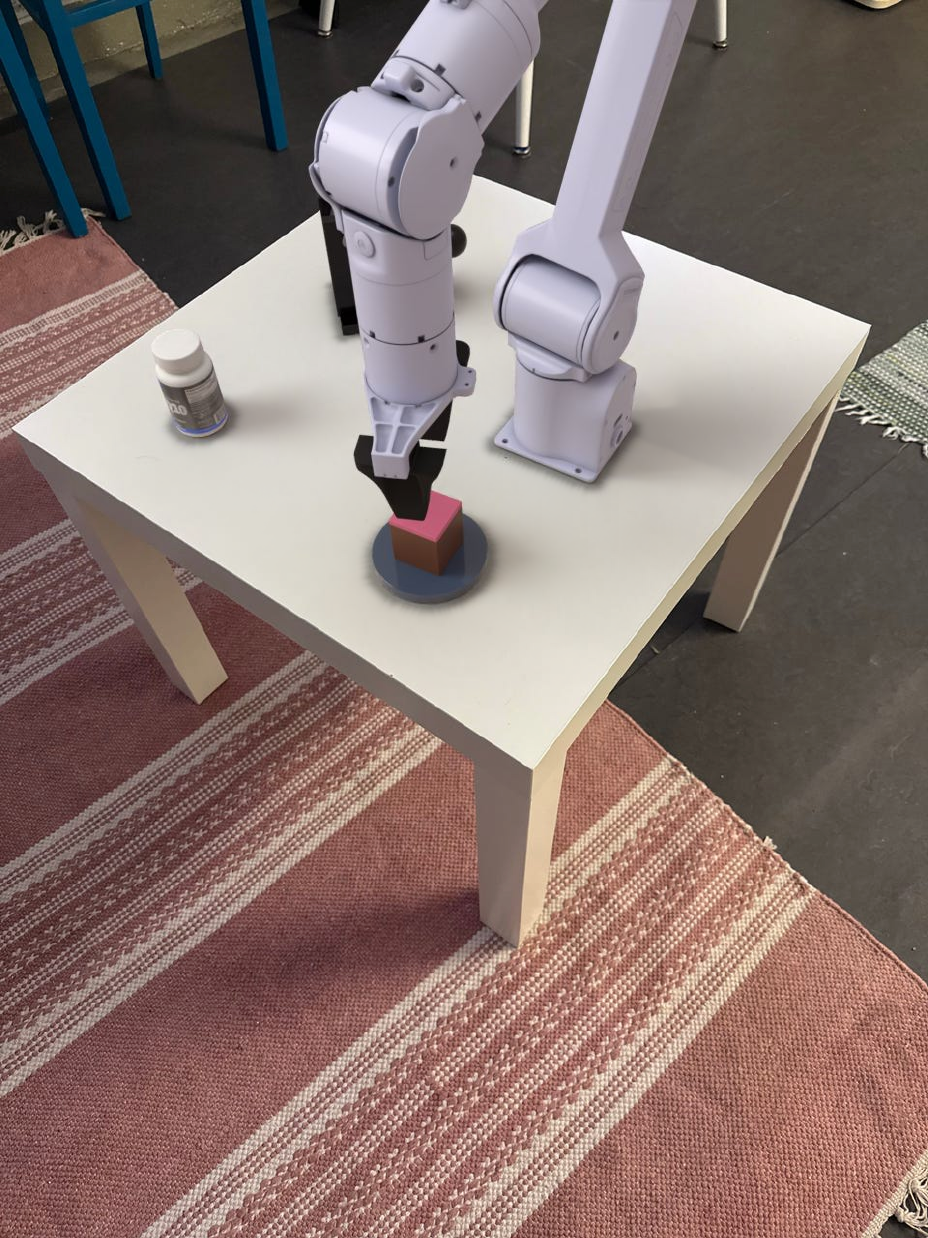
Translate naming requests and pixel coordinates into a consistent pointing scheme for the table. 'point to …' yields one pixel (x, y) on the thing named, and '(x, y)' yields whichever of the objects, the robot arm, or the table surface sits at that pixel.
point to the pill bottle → (189, 383)
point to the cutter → (456, 238)
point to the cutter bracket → (339, 269)
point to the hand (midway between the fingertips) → (421, 475)
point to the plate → (426, 585)
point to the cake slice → (429, 535)
